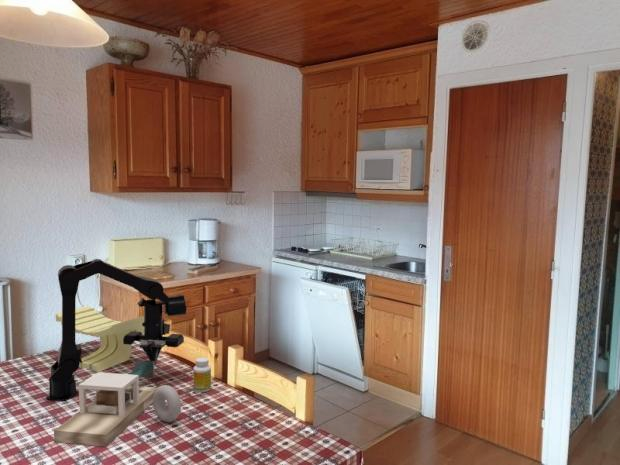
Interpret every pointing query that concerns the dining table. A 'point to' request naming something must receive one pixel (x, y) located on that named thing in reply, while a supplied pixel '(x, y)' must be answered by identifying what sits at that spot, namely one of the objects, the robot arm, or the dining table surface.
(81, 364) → the slatted curved stool
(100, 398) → the block
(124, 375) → the tunnel
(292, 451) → the dining table surface
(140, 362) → the carriage
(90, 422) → the deck
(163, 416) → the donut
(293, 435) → the dining table surface
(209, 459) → the dining table surface
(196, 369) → the supplement bottle
